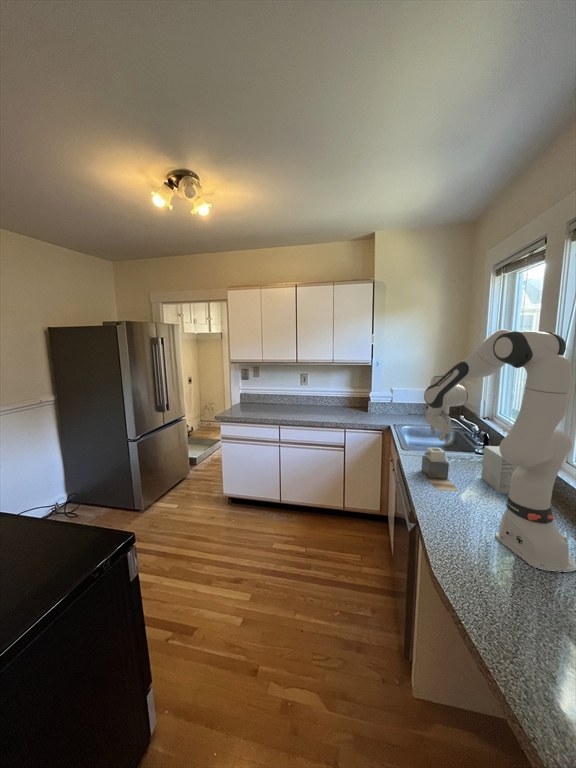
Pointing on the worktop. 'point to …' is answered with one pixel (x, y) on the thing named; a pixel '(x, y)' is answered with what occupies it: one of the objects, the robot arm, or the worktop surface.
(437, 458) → the pump housing
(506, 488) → the supplement box
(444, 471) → the stepped grey block
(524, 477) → the robot arm
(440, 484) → the board
